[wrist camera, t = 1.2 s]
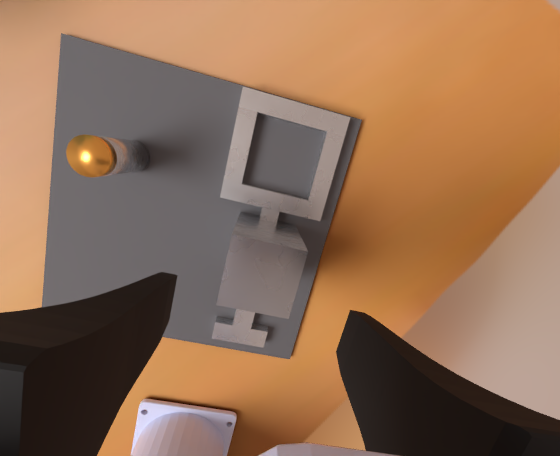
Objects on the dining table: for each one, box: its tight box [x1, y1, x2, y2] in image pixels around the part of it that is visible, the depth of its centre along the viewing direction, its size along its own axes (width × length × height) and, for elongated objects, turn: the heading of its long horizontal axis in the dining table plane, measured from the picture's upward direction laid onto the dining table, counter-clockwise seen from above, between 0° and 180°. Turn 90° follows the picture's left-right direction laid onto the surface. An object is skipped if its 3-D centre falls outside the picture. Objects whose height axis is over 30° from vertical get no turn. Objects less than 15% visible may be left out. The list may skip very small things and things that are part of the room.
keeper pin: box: [66, 135, 150, 177], centre depth 16 cm, size 2×2×5 cm
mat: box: [42, 33, 362, 359], centre depth 20 cm, size 19×19×1 cm
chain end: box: [212, 87, 350, 348], centre depth 18 cm, size 18×7×6 cm, turn 166°
